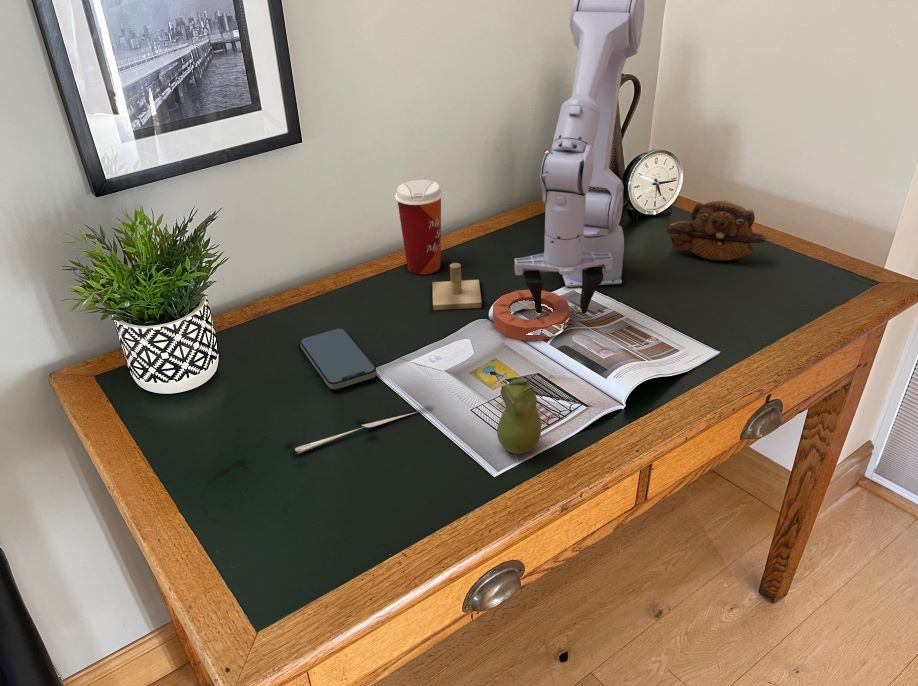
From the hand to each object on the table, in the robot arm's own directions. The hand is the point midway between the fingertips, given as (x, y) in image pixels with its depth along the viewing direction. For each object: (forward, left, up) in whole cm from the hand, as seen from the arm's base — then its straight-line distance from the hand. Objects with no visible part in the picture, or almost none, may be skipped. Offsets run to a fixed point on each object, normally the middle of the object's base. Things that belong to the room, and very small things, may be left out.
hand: (560, 311), depth 124 cm
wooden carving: (-29, -18, -2) cm, 34 cm away
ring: (+5, 0, -1) cm, 5 cm away
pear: (+10, +31, -2) cm, 33 cm away
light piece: (+30, +26, -2) cm, 40 cm away
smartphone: (+35, +9, -2) cm, 36 cm away
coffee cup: (+22, -21, -2) cm, 30 cm away
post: (+16, -9, -1) cm, 19 cm away
